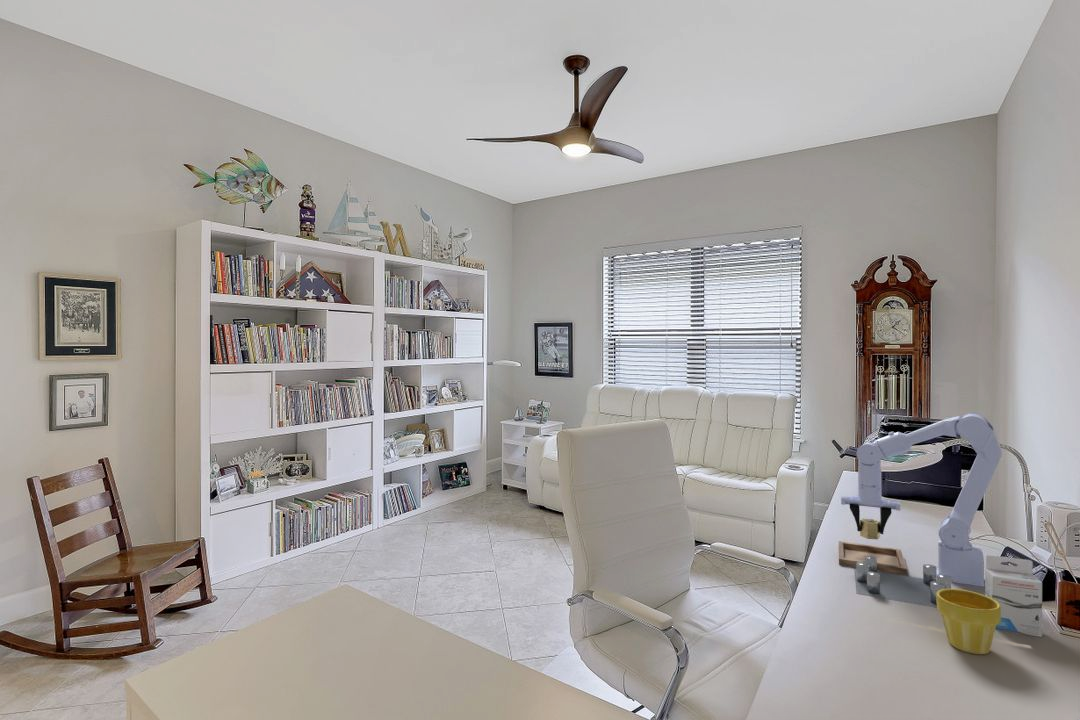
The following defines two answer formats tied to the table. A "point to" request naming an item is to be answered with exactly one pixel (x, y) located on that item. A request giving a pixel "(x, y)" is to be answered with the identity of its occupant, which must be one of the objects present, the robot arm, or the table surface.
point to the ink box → (1015, 594)
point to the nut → (870, 528)
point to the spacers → (872, 578)
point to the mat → (899, 589)
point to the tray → (885, 556)
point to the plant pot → (968, 619)
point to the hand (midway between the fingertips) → (870, 531)
